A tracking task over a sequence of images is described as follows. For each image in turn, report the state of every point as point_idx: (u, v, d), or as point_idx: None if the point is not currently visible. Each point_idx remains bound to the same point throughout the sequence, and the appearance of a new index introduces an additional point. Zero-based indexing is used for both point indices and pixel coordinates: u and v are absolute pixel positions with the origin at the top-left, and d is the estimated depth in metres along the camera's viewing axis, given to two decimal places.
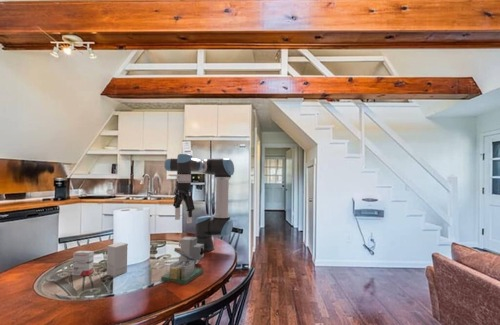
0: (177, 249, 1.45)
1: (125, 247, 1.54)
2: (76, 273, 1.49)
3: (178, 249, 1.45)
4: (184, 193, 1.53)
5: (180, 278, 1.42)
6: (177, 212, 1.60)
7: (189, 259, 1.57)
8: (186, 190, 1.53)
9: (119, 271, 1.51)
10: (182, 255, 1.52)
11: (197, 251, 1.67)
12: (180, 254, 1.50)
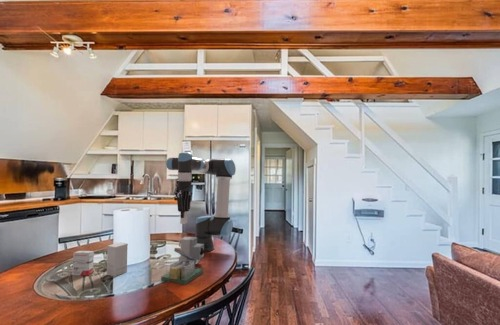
0: (177, 249, 1.45)
1: (125, 247, 1.54)
2: (76, 273, 1.49)
3: (178, 249, 1.45)
4: None
5: (180, 278, 1.42)
6: None
7: (189, 259, 1.57)
8: (180, 188, 1.55)
9: (119, 271, 1.51)
10: (182, 255, 1.52)
11: (197, 251, 1.67)
12: (180, 254, 1.50)
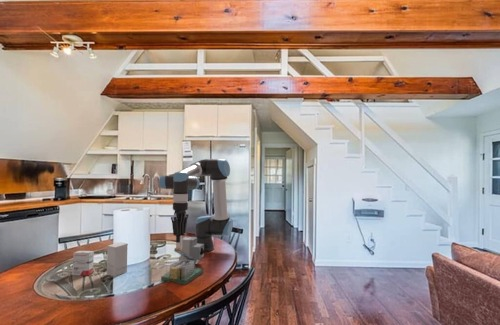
0: (177, 249, 1.45)
1: (125, 247, 1.54)
2: (76, 273, 1.49)
3: (178, 249, 1.45)
4: None
5: (180, 278, 1.42)
6: None
7: (189, 259, 1.57)
8: (175, 211, 1.44)
9: (119, 271, 1.51)
10: (182, 255, 1.52)
11: (197, 251, 1.67)
12: (180, 254, 1.50)
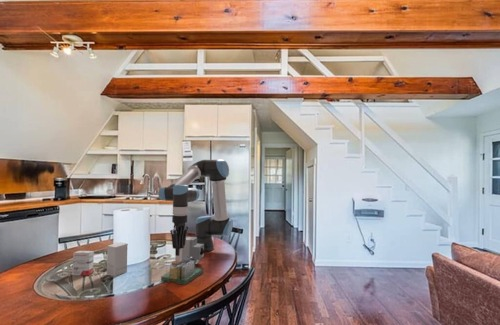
0: (174, 263, 1.43)
1: (125, 248, 1.54)
2: (76, 273, 1.49)
3: (175, 263, 1.42)
4: None
5: (180, 278, 1.42)
6: None
7: None
8: (175, 224, 1.44)
9: (119, 271, 1.51)
10: (181, 261, 1.51)
11: (197, 251, 1.67)
12: None
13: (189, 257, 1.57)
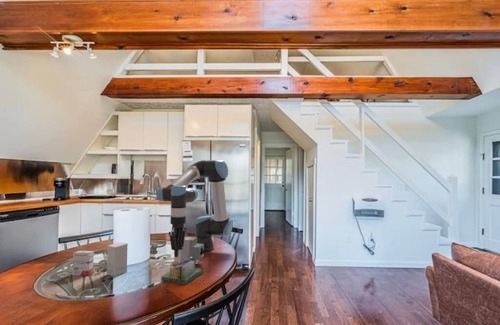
0: (174, 264, 1.42)
1: (125, 247, 1.54)
2: (76, 273, 1.49)
3: (175, 264, 1.42)
4: None
5: (180, 278, 1.42)
6: None
7: None
8: (173, 225, 1.42)
9: (119, 271, 1.51)
10: None
11: (197, 251, 1.67)
12: None
13: (189, 257, 1.57)
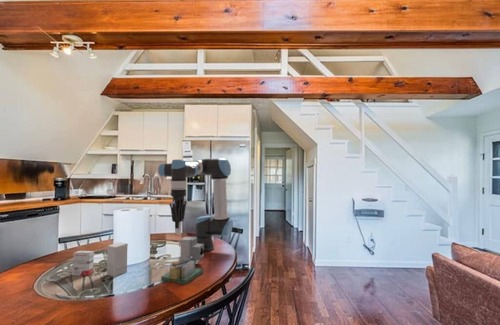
0: (174, 264, 1.42)
1: (125, 248, 1.54)
2: (76, 273, 1.49)
3: (175, 264, 1.42)
4: None
5: (180, 278, 1.42)
6: None
7: None
8: (174, 197, 1.46)
9: (119, 271, 1.51)
10: None
11: (197, 251, 1.67)
12: None
13: (189, 257, 1.57)
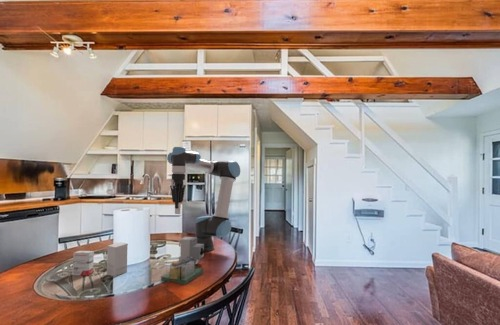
0: (174, 264, 1.42)
1: (125, 247, 1.54)
2: (76, 273, 1.49)
3: (175, 264, 1.42)
4: None
5: (180, 278, 1.42)
6: None
7: None
8: (174, 180, 1.64)
9: (119, 271, 1.51)
10: None
11: (197, 251, 1.67)
12: None
13: (189, 257, 1.57)
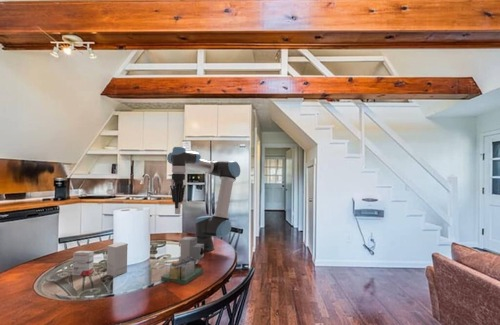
0: (174, 264, 1.42)
1: (125, 248, 1.54)
2: (76, 273, 1.49)
3: (175, 264, 1.42)
4: None
5: (180, 278, 1.42)
6: None
7: None
8: (174, 180, 1.64)
9: (119, 271, 1.51)
10: None
11: (197, 251, 1.67)
12: None
13: (189, 257, 1.57)
